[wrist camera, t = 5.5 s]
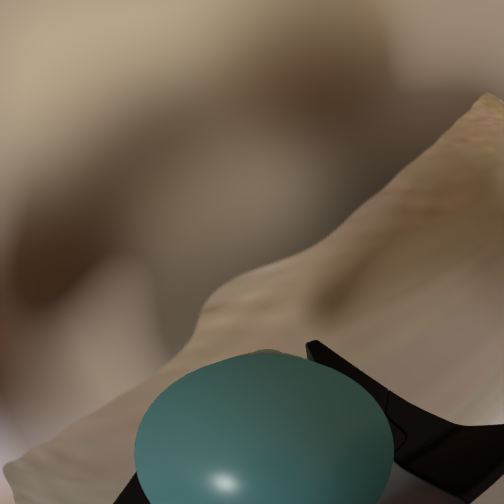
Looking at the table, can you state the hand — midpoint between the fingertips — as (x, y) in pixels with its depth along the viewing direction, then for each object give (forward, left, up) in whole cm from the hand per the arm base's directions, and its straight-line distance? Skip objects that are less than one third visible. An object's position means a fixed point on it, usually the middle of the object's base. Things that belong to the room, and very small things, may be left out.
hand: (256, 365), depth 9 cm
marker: (-1, +1, -7) cm, 7 cm away
